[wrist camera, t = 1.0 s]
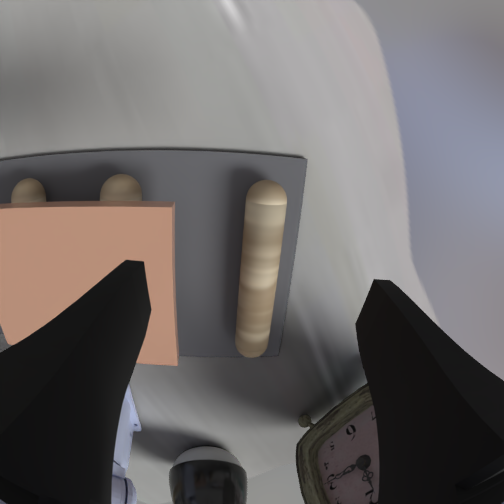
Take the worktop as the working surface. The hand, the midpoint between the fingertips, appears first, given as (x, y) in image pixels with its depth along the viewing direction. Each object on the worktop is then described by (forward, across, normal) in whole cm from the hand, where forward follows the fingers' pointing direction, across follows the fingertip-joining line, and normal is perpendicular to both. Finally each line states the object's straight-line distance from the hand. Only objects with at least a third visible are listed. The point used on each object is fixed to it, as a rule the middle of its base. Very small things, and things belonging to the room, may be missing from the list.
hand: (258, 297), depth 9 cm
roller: (+12, -1, +8) cm, 15 cm away
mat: (+11, +16, +8) cm, 21 cm away
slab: (+8, +13, +7) cm, 17 cm away
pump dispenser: (+7, +3, +37) cm, 37 cm away
